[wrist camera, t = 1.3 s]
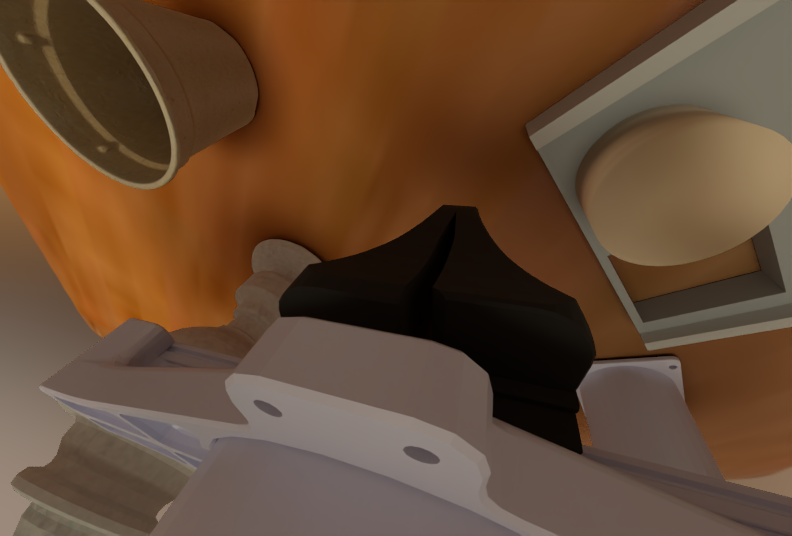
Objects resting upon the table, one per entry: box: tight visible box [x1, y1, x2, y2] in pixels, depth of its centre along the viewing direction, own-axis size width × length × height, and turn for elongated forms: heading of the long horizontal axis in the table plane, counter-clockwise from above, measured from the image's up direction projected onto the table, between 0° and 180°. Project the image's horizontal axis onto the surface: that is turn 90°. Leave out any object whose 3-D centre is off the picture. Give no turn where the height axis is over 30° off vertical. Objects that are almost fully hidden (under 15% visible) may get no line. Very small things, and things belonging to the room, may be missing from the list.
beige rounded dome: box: [575, 104, 792, 266], centre depth 13 cm, size 6×6×4 cm
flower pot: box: [0, 0, 258, 189], centre depth 16 cm, size 9×9×9 cm
